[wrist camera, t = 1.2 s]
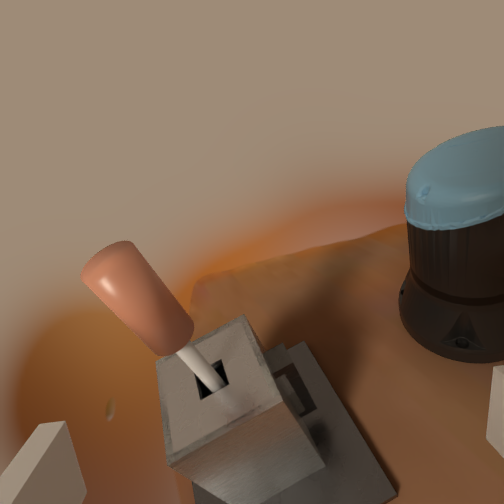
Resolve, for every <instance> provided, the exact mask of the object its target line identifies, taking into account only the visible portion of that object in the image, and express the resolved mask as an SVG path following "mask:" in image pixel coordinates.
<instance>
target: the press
mask: <svg viewBox="0 0 504 504" xmlns="http://www.w3.org/2000/svg"><path fill="white" fill-rule="evenodd" d="M192 344H193V345H194V346H195V347H196V348H197V349H198V351H199V352H200V353H201V354H202V355H203V357H204V358H205V359H206V360H207V361H208V363H209V364H210V365H211V366H212V367H213V369H214V370H215V371H216V372H217V373H218V375H219V376H220V377H221V378H222V379H223V381H224V382H225V383H226V384H227V386H226V387H224V388H222V389H220V390H218V391H216V392H215V393H212V392H211V390H210V389H209V388H208V387H207V386H206V385H205V384H204V383H203V382H202V381H201V380H200V379H199V377H198V376H197V375H196V374H195V373H194V372H193V371H192V370H191V369H190V368H189V367H188V366H187V364H186V363H185V362H184V361H183V360H182V359H181V358H180V357H179V356H178V355H177V354H176V353H174V354H172V355H169V356H165V357H163V358H162V359H160V360H158V361H156V369H157V379H158V388H159V396H160V405H161V414H162V422H163V431H164V441H165V450H166V459H167V466H169V467H171V468H172V469H174V470H175V471H177V472H179V473H180V474H182V475H183V476H185V477H186V478H188V479H190V480H191V481H192V486H193V492H194V498H195V504H386V503H388V502H390V501H391V500H393V499H395V498H396V497H398V496H397V493H396V492H395V490H394V488H393V487H392V485H391V483H390V482H389V480H388V478H387V477H386V475H385V473H384V472H383V470H382V469H381V467H380V465H379V464H378V462H377V460H376V459H375V457H374V455H373V454H372V452H371V450H370V449H369V447H368V445H367V444H366V442H365V440H364V439H363V437H362V435H361V434H360V432H359V431H358V429H357V427H356V426H355V424H354V422H353V421H352V419H351V417H350V416H349V414H348V412H347V411H346V409H345V407H344V406H343V404H342V402H341V401H340V399H339V397H338V396H337V394H336V393H335V391H334V389H333V388H332V386H331V384H330V383H329V381H328V379H327V378H326V376H325V374H324V373H323V371H322V369H321V368H320V366H319V364H318V363H317V361H316V359H315V358H314V356H313V354H312V353H311V351H310V350H309V348H308V346H307V345H306V343H305V341H302V342H300V343H299V344H297V345H295V346H293V347H291V348H289V349H288V350H286V348H285V346H284V344H283V343H281V344H279V345H277V346H275V347H274V348H272V349H270V350H268V351H266V350H265V348H264V346H263V345H262V343H261V341H260V340H259V338H258V336H257V335H256V333H255V331H254V330H253V328H252V326H251V325H250V323H249V321H248V320H247V318H246V316H245V315H244V314H243V315H241V316H239V317H238V318H236V319H234V320H232V321H230V322H228V323H226V324H225V325H223V326H221V327H219V328H217V329H215V330H213V331H212V332H210V333H208V334H206V335H204V336H202V337H200V338H199V339H197V340H195V341H193V342H192Z"/></svg>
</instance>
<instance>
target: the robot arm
mask: <svg viewBox="0 0 504 504" xmlns="http://www.w3.org/2000/svg"><path fill="white" fill-rule="evenodd" d="M404 213H405V215H406V219H407V229H408V242H409V255H410V269H409V271H408V273H407V275H406V278H405V280H404V282H403V284H402V286H401V289H400V292H399V311H400V316H401V320H402V322H403V325H404V326H405V328H406V330H407V331H408V332H409V334H410V335H411V336H412V337H413V338H414V339H415V340H416V341H417V342H418V343H419V344H421V345H422V346H424V347H425V348H427V349H428V350H430V351H432V352H434V353H436V354H438V355H440V356H443V357H446V358H449V359H452V360H456V361H461V362H467V363H491V362H497V361H501V360H504V126H497V127H490V128H485V129H480V130H476V131H472V132H469V133H466V134H462V135H460V136H457V137H455V138H452V139H450V140H448V141H446V142H444V143H441V144H439V145H438V146H437V147H436V148H434V149H432V150H430V151H429V152H427V153H426V154H425V155H424V156H422V157H421V158H420V159H419V160H418V161H417V162H416V163H415V165H414V166H413V167H412V169H411V171H410V173H409V175H408V178H407V183H406V202H405V206H404ZM486 439H487V440H488V441H489V443H490V444H491V445H492V446H493V447H494V448H495V449H496V450H497V451H498V452H499V453H500V454H501V456H502V457H503V458H504V365H501V366H494V367H493V376H492V386H491V395H490V405H489V414H488V424H487V433H486ZM86 493H87V490H86V487H85V484H84V480H83V478H82V474H81V471H80V467H79V464H78V461H77V457H76V454H75V451H74V448H73V444H72V441H71V438H70V435H69V431H68V428H67V424H66V421H61V422H52V423H46V424H45V423H44V424H39V425H38V427H37V428H36V430H35V431H34V432H33V434H32V435H31V436H30V437H29V439H28V440H27V441H26V443H25V444H24V445H23V447H22V448H21V450H20V451H19V452H18V454H17V455H16V456H15V458H14V459H13V460H12V462H11V463H10V465H9V466H8V467H7V468H6V470H5V471H4V472H3V474H2V475H1V476H0V504H82V502H83V500H84V498H85V495H86Z"/></svg>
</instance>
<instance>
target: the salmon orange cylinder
mask: <svg viewBox="0 0 504 504" xmlns="http://www.w3.org/2000/svg"><path fill="white" fill-rule="evenodd" d="M81 280H82V281H83V282H84V283H85V284H86V285H87V286H88V287H89V288H90V289H91V290H92V291H93V292H94V293H95V294H96V295H97V296H98V297H99V298H100V299H101V300H102V301H103V302H104V303H105V304H106V305H107V306H108V307H109V308H110V309H111V310H112V311H113V312H114V313H115V314H116V315H117V316H118V317H119V318H120V319H121V320H122V321H123V322H124V323H125V324H126V325H127V326H128V327H129V328H130V329H131V330H132V331H133V332H134V333H135V334H136V335H137V336H138V337H139V338H140V339H141V340H142V341H143V342H144V343H145V344H146V345H147V346H148V347H149V348H150V349H151V350H152V351H153V352H154V353H155V354H156V355H158V356H169V355H172V354H174V353H176V354H177V355H178V356H179V357H180V358H181V359H182V360H183V361H184V362H185V363H186V364H187V366H188V367H189V368H190V369H191V370H192V371H193V372H194V373H195V374H196V375H197V376H198V377H199V379H200V380H201V381H202V382H203V383H204V384H205V385H206V386H207V387H208V388H209V389H210V390H211V392H212V393H215V392H216V391H218V390H220V389H222V388H224V387H226V386H227V384H226V383H225V382H224V381H223V379H222V378H221V377H220V376H219V375H218V373H217V372H216V371H215V370H214V369H213V367H212V366H211V365H210V364H209V363H208V361H207V360H206V359H205V358H204V357H203V355H202V354H201V353H200V352H199V351H198V349H197V348H196V347H195V346H194V345H193V344H192V342H191V341H190V339H191V337H192V334H193V331H194V323H193V320H192V319H191V318H190V316H189V315H188V314H187V313H186V311H185V310H184V309H183V307H182V306H181V305H180V304H179V302H178V301H177V300H176V298H175V297H174V296H173V295H172V293H171V292H170V291H169V289H168V288H167V287H166V285H165V284H164V283H163V282H162V280H161V279H160V278H159V276H158V275H157V274H156V273H155V271H154V270H153V269H152V267H151V266H150V265H149V263H148V262H147V261H146V260H145V258H144V257H143V256H142V254H141V253H140V252H139V251H138V249H137V248H136V247H135V245H134V244H133V243H132V242H130V241H120V242H116V243H114V244H111V245H109V246H107V247H105V248H104V249H102V250H101V251H99V252H98V253H97V254H95V255H94V256H93V257H92V258H91V259H90V260H89V261H88V262H87V264H86V265H85V266H84V268H83V270H82V272H81Z"/></svg>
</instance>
